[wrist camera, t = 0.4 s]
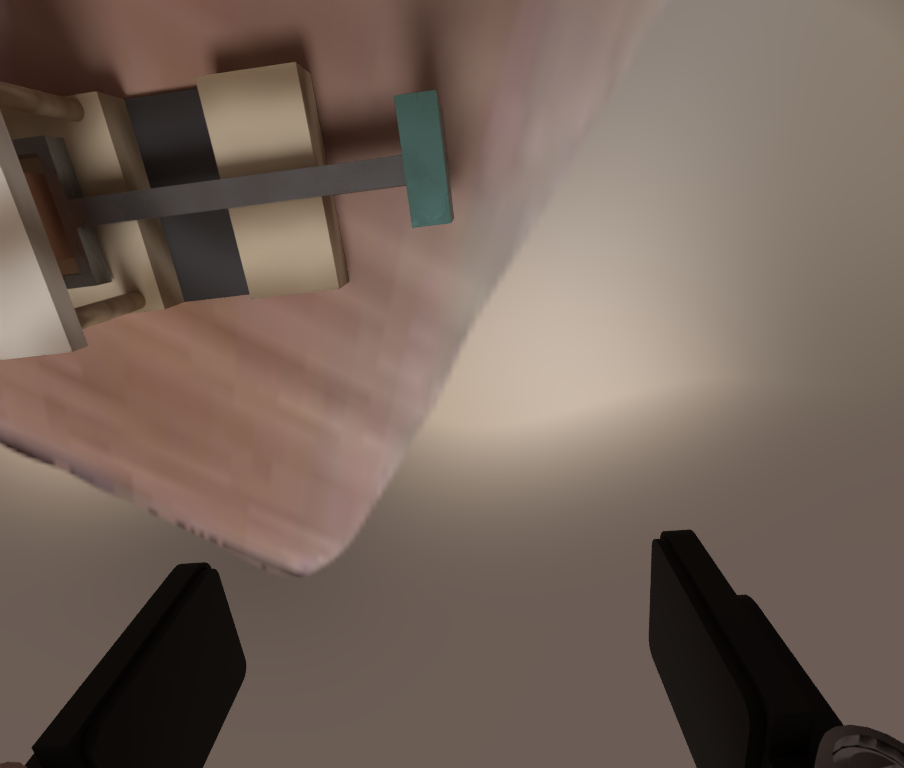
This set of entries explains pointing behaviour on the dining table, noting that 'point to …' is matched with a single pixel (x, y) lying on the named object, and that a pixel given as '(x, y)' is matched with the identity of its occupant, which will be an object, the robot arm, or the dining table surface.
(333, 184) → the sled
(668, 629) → the robot arm
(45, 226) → the block
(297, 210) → the tunnel
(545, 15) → the dining table surface
